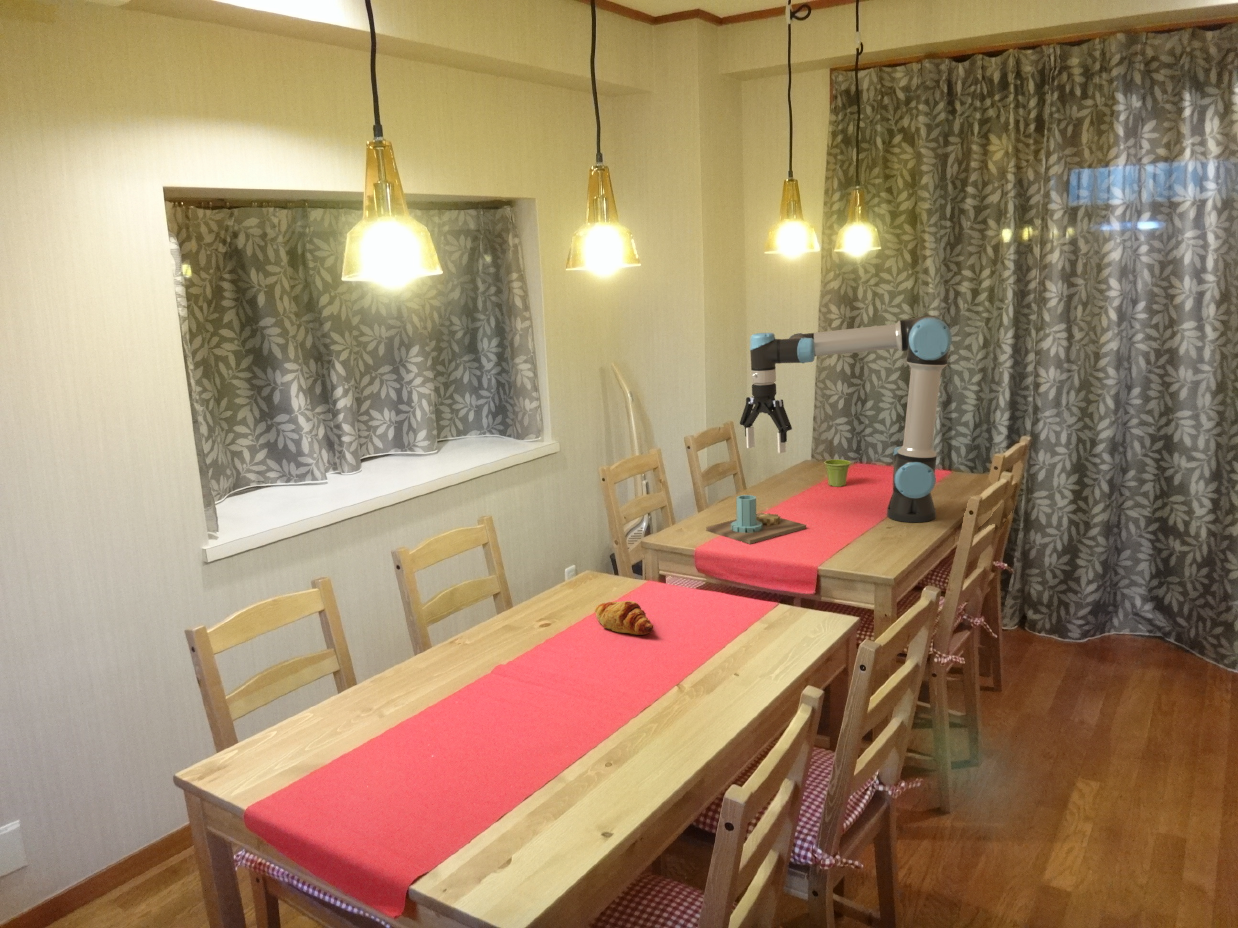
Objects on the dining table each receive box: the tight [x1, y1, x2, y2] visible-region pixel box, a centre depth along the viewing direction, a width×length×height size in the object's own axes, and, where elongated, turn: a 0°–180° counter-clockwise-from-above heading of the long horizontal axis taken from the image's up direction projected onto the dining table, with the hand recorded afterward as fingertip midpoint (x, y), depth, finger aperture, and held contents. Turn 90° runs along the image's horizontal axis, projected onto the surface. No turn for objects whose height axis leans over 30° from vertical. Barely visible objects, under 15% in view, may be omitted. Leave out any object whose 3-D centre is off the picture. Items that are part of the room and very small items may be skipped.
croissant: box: [594, 600, 654, 636], centre depth 236 cm, size 21×10×8 cm, turn 39°
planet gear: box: [731, 494, 763, 533], centre depth 307 cm, size 10×10×10 cm
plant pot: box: [823, 458, 852, 488], centre depth 361 cm, size 9×9×9 cm
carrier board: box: [705, 512, 807, 545], centre depth 310 cm, size 20×24×6 cm
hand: (766, 450), depth 310 cm, fingers open, 13 cm apart
